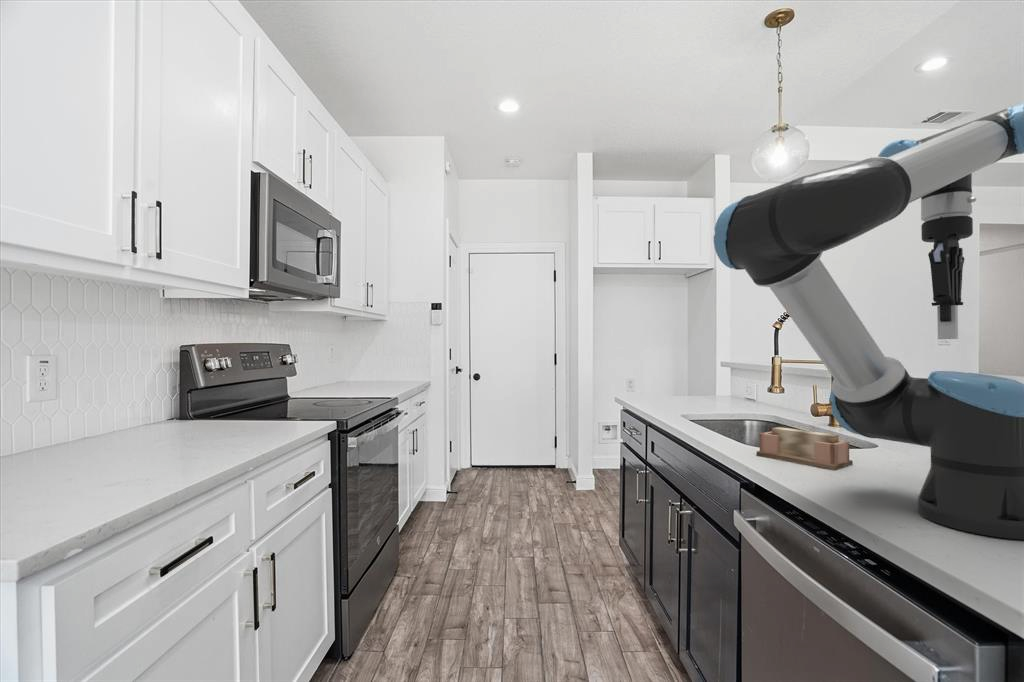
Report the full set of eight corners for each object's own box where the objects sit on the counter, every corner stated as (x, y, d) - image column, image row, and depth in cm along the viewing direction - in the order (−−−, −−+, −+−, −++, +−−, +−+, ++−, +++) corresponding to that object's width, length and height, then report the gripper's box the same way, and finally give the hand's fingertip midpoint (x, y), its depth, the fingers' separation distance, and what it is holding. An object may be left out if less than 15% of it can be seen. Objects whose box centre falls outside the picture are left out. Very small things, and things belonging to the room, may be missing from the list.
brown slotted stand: (835, 465, 109) (834, 445, 109) (759, 451, 124) (759, 433, 124) (849, 460, 113) (849, 441, 113) (774, 447, 128) (774, 430, 128)
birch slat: (772, 451, 123) (771, 428, 124) (778, 450, 125) (778, 426, 125) (832, 462, 112) (832, 436, 112) (838, 460, 113) (838, 435, 113)
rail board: (833, 470, 109) (833, 465, 109) (756, 455, 124) (756, 451, 124) (852, 464, 113) (852, 460, 114) (775, 451, 129) (775, 447, 129)
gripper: (962, 209, 89) (963, 338, 88) (981, 219, 96) (982, 339, 96) (910, 218, 95) (912, 338, 95) (932, 227, 102) (934, 339, 102)
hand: (947, 338), depth 95 cm, fingers closed
